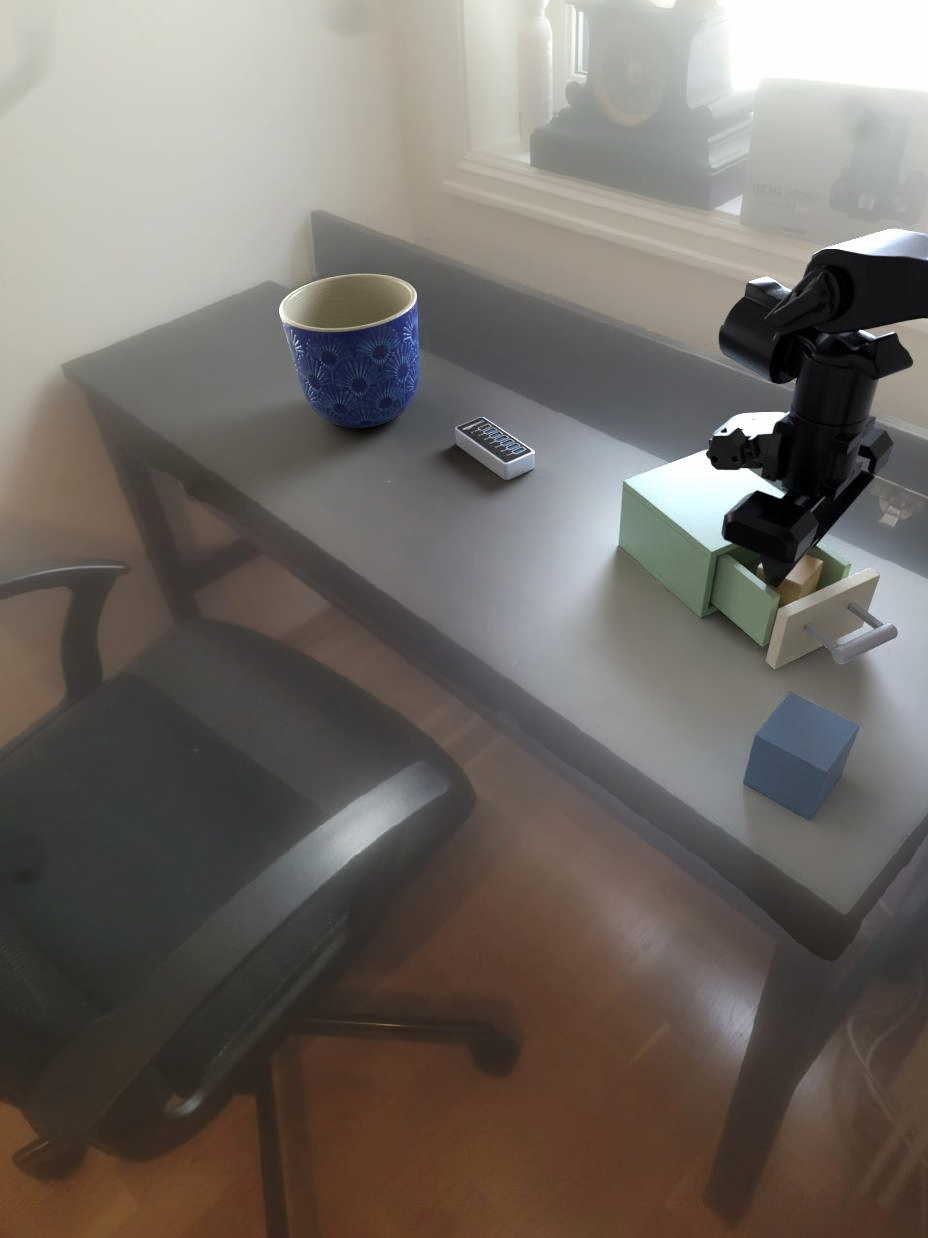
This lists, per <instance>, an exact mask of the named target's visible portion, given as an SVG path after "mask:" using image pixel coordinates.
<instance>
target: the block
mask: <svg viewBox="0 0 928 1238" xmlns="http://www.w3.org/2000/svg"><path fill="white" fill-rule="evenodd" d="M822 565H823V561H821V560H819V559H816V558H814V557H811V556H809V555H806V554H805V555H804V557H803V558H802V559H801V560H800V561H799V563H798V564H797V565H796V566H795V567H794V569H793V570H792V571H791V572H790V573H789V575H788V576H787V577H786V578H785V579H784V580H783V582H782V583H781V584H780V585H779V586H778V587H774V586H771V585H769V584H767V583H766V581H765V576H764V571H763V566H762V563H761V564H760V565H759V566H758V568H757V573H756V577H757V578H759V579H760V580H761V581H762V582H764V583H765V584H766V585H767V586H769V587H770V588H771V589H772V590H774V591H775V592H776V593H777V594H779V595H780V599H779V603H778V607H777V611H776V615H775V619H774V620H776V617H777V613H778V609H779V608H782V607H784V606H786V605H788V604H791V603H793V602H795V601H797V600H799V599H802V598H804V597H806V596H808V595H810V594H813V593H815V590H816V586H817V583H818V579H819V576H820V572H821V569H822Z"/></svg>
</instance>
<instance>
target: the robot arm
mask: <svg viewBox="0 0 928 1238" xmlns="http://www.w3.org/2000/svg"><path fill="white" fill-rule="evenodd" d="M922 319H925V320H926V319H927V320H928V234H926V233H922V232H915V231H910V230H903V229H899V228H898V229H897V228H891V229H887V230H883V231H880V232H875V233H873V234H869V235H866V236H863V237H859V238H856V239H852V240H849V241H846V242H842V243H839V244H835V245H832V246H829V247H826V248H823V249H819V250H817V251H816V252H814V253H813V254H812V255H811V259H810V260H809V262H808V263H807V265H806V268H805V270H804V272H803V275H802V279H801V280H800V281H799V282H798V283H797V284H796V285H795V286H794V287H793V288H792V289H789V288H786V287H785V286H783V285H781V284H780V283H779V282H778V281H776V279H775V280H774V279H772V278H770V277H768V276H765V277H761V278H757V279H755V280H751V281H747V283H746V284H745V290H744V296H743V297H742V298H740V299H739V300H737V302H735V304H734V305H733V306H732V308H731V309H730V310H729V312H728V314H727V315H726V317H725V319H724V322H723V324H721V326H719V327H720V328H719V331H718V346H719V349H720V351H721V353H722V355H724V356H725V357H726V358H728V359H730V360H732V361H734V362H735V363H737V364H739V365H740V366H742V367H745V368H746V369H748V370H749V371H751V372H753V373H754V374H756V375H759V376H760V377H762V378H763V379H765V380H767V381H769V382H770V383H773V384H776V385H784V384H789V383H791V382H792V381H793V380H795V383H794V389H793V393H792V397H791V402H790V407H789V411H788V412H787V413H785V412H781V411H771V412H768V411H767V412H744V413H740V414H739V413H738V414H736V415H734V416H732V417H730V418H729V419H728V420H727V421H726V422H725V423H723V424H721V426H719V427H718V428H717V429H716V430H714V431H713V432H712V437H710V438H709V439H708V448H707V449H708V450H707V449H706V450H707V451H706V456H707V458H708V459H710V463H711V465H712V466H713V467H714V468H715V469H716V470H739V469H740V468H744V469H749V470H750V469H751V470H753V469H755V470H756V469H762V470H761V474H760V477H761V478H762V479H764V480H766V481H769V482H772V483H775V482H777V481H779V482H781V484H780V487H779V490H780V491H781V492H786V493H784V494H785V495H784V496H783V497H782V498H778V497H775V496H772V495H770V494H767V493H764V492H762V491H759V490H756V491H754V492H752V493H750V494H748V495H745V496H744V497H743V498H742V499H741V500H740V501H739V502H738V503H737V504H736V505H735V506H734V507H733V508H731V509H730V510H729V511H728V512H727V513H726V514H725V515H724V520H723V526H722V532H721V534H722V537H723V539H724V540H726V541H728V542H731V543H733V544H736V545H738V546H741V547H743V548H746V549H748V550H750V551H753V552H755V553H758V554H760V557H761V562H762V566H763V571H764V576H765V581H766V583H767V584H769V585H771V586H774V587H778V586H779V585H780V584H781V583H782V582H783V580H784V579H785V578H786V577H787V576H788V575H789V573H790V572H791V571H792V570H793V569H794V567H795V566H796V565H797V564H798V563H799V561H800V560H801V559H802V558H803V557H804V555H805V554H806V553H807V552H808V551H809V550H810V548H811V547H815V546H816V545H817V544H818V543H819V542H821V540H823V538H824V537H825V536H826V535H827V534H828V533H829V531H830V530H831V529H832V528H833V526H835V525H836V524H837V522H838V521H839V520H840V518H842V516H843V515H844V514H845V513H846V512H847V511H848V510H849V508H850V507H851V506H852V505H853V504H854V503H855V501H857V499H858V498H859V497H860V496H861V495H862V493H863V492H865V490H866V489H867V488H868V487H869V485H871V483H872V482H873V481H874V479H875V476H876V475H877V474H878V473H879V472H880V471H881V470H882V469H883V468H884V467H885V466H886V464H887V463H888V462H889V460H890V457H891V455H892V450H893V447H894V441H893V440H892V438H891V437H890V435H889V433H888V432H887V430H885V429H883V428H878V427H875V424H876V419H877V416H875V415H871V414H870V413H871V409H872V406H873V402H874V399H875V396H876V391H877V388H878V385H879V383H880V382H879V381H880V379H883V378H886V377H889V376H891V375H893V374H897V373H899V372H902V371H905V370H907V369H910V368H912V367H913V365H914V359H913V357H912V355H911V354H910V352H909V350H908V349H907V348H905V346H903V344H902V343H901V341H900V338H899V335H898V333H897V332H895V331H892V332H890V333H886V334H884V335H881V336H878V335H876V334H874V333H872V332H869V331H867V330H871V329H872V330H873V329H876V328H881V327H886V326H891V325H894V324H895V325H896V324H898V323H905V322H910V321H915V320H922ZM858 457H861V458H864V459H867V460H868V459H869V463H868V466H867V470H865V469H864V470H863V468H862V467H863V464H864V461H861V460H859V459H858Z"/></svg>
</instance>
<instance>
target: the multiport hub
mask: <svg viewBox="0 0 928 1238" xmlns="http://www.w3.org/2000/svg"><path fill="white" fill-rule="evenodd" d="M454 434H455V445H456V446H457V447H459V448H460V449H461V450H463V451H464V452H466V453H467V454H468V455H470V456H471V457H473V458H474V459H475V460H477V461H478V462H480V464H482V465H483V466H485V467H486V468H488V469H489V470H490V471H492V472H493V473H495V474H496V475H497V476H498V477H500V478H501V479H503V480H504V481H509V480H510V481H511V480H512V479H515V478H516V477H519V476H521V475H524V474H526V473H527V472H530V471H532V470H534V469H535V451H534V449H532V448H530V446H527V445H526V443H525V444H524V443H523V442H521V441H520V440H518V439H517V438H516V437H514V436H512V435H511V434H510V433H509V432H507V431H505V430H504V429H502V428H501V427H499V426H498V425H496V424H495V423H494V422H492V421H490V420H489V419H487V418H485V417H484V416H479V417H476V418H474V419H472V420H469V421H467V422H464V423H463V424H460V425H457V426H455V427H454Z"/></svg>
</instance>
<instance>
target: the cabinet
mask: <svg viewBox="0 0 928 1238" xmlns="http://www.w3.org/2000/svg"><path fill="white" fill-rule="evenodd" d="M708 449H709V448H707V449H704V450H701V451H699V452H696V453H694V454H692V455H688V456H685V457H683V458H680V459H677V460H675V461H672V462H669V463H666V464H664V465H661V466H659V467H655V468H653V469H650V470H647V471H644V472H642V473H640V474H636V475H635V476H632V477H629V478H626V479H624V480H622V493H621V503H620V504H621V505H620V519H619V532H618V545H619V546H620V547H621V548H622V549H623V550H624V551H625V552H626V553H627V554H628V555H630V556H631V557H632V558H633V559H634V560H635V561H636V562H637V563H638V564H640V565H641V566H642V567H643V568H644V569H645V570H646V571H647V572H649V573H650V574H651V575H652V576H653V577H654V578H655V579H656V580H657V581H659V582H660V583H661V584H662V586H664V588H667V590H668V591H669V592H670V593H672V594H673V596H675V597H676V598H677V599H678V600H680V602H682V603H683V604H684V605H685V606H686V607H687V608H688V609H690V610H691V611H692V612H693V613H694V614H695V615H696V616H697V617H698V618H700V619H702V618H704V617H707V616H709V615H711V614H713V613H715V612H718V611H720V610H719V609H718V608H717V607H716V606H715V605H713V604H712V603H711V602H710V601H709V600H710V594H711V588H712V582H713V577H714V571H715V565H716V559H717V556H718V555H721V554H723V553H726V552H728V551H730V550H733V549H735V548H738V547H740V546H738V545H736V544H733V543H731V542H728V541H726V540H724V539H723V537H722V534H721V532H722V526H723V520H724V515H725V514H726V513H727V512H728V511H729V510H730V509H731V508H733V507H734V506H735V505H736V504H737V503H738V502H739V501H740V500H741V499H742V498H743V497H744V496H745V495H748V494H750V493H752V492H754V491H756V490H759V491H762V492H764V493H767V494H770V495H772V496H775V497H778V498H782V497H783V496H784V495H785V494H786V493H784V491H782V490H780V489H778V488H777V487H775V486H774V485H773V484H772V483H770V482H768V480H766V479H764V478H761V476H759V475H758V474H756V473H755V472H753V471H752V470H750V469H744V468H740V469H739V470H716V469H715V468H714V467H713V466H712V465H711V463H710V459H708V458H707V456H706V451H707V450H708Z"/></svg>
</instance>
